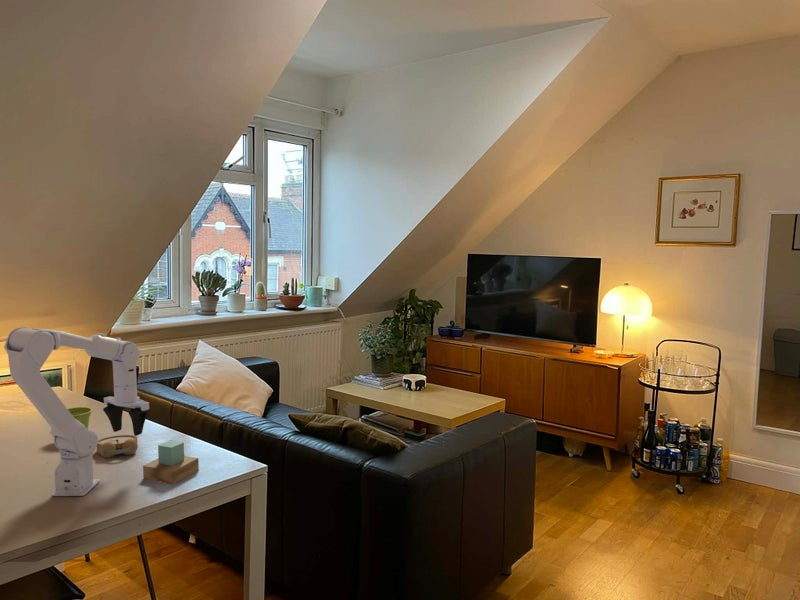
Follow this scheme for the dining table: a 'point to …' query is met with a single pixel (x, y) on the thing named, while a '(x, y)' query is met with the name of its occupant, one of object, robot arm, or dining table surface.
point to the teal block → (171, 452)
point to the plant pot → (81, 414)
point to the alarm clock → (117, 445)
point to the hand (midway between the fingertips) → (127, 432)
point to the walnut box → (170, 470)
